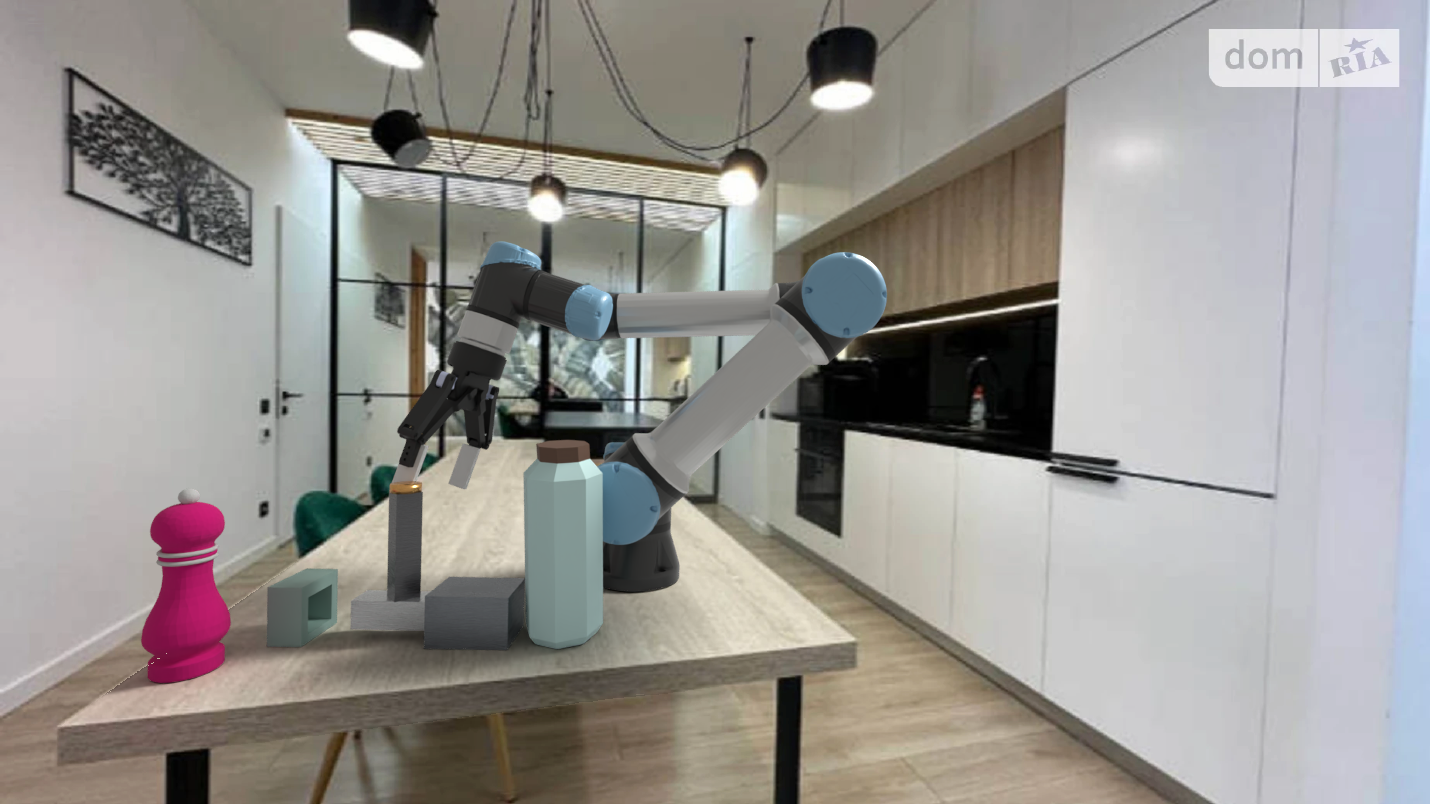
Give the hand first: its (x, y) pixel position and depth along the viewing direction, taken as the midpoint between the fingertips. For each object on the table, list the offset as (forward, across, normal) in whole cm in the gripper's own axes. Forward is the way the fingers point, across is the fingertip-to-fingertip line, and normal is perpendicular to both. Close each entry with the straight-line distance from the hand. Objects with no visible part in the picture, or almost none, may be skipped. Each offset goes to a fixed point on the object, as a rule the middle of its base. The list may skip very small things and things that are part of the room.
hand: (431, 488), depth 81 cm
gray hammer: (+15, +6, +10) cm, 19 cm away
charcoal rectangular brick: (+14, +5, +16) cm, 22 cm away
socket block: (+20, +8, -5) cm, 23 cm away
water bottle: (+11, +2, +26) cm, 28 cm away
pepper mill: (+23, +18, -9) cm, 31 cm away
